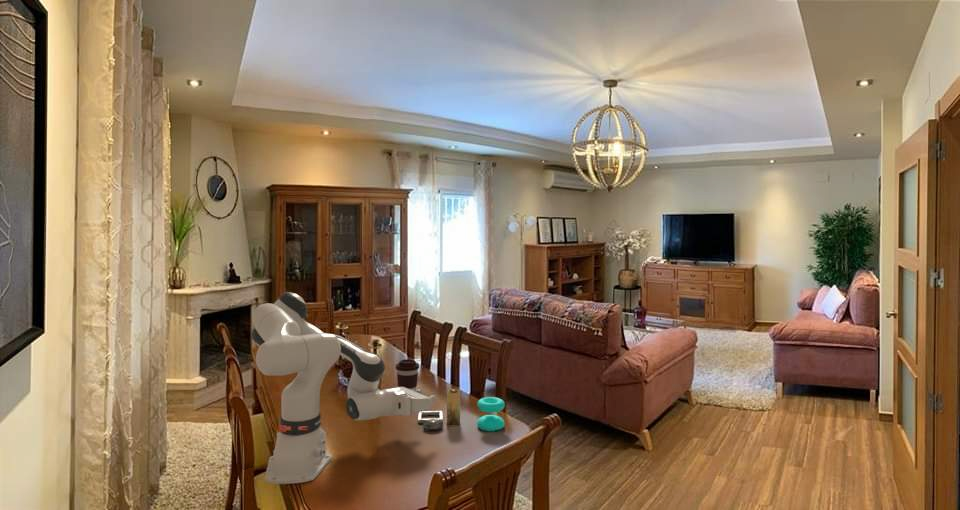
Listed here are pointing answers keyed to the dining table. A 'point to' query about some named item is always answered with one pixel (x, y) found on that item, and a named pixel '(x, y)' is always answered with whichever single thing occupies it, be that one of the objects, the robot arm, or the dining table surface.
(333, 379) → the dining table surface
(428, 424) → the carrier
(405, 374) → the coffee cup
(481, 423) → the donuts
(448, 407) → the tan bottle
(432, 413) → the ring seat
